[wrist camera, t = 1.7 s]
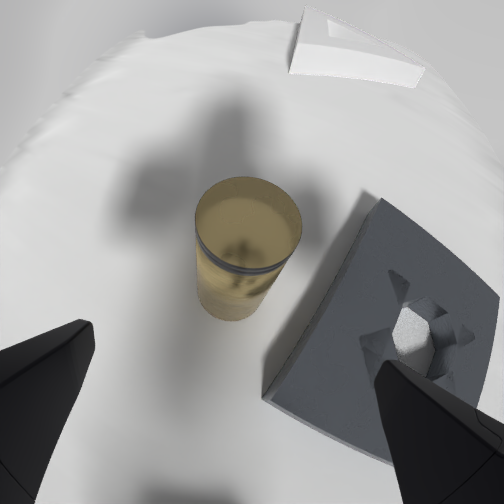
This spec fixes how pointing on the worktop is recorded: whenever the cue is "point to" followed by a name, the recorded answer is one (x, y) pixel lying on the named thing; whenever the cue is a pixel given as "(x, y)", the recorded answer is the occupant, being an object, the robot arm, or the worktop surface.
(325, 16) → the triangle block
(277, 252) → the cylinder
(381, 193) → the worktop surface
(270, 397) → the grey octagonal hole plate
